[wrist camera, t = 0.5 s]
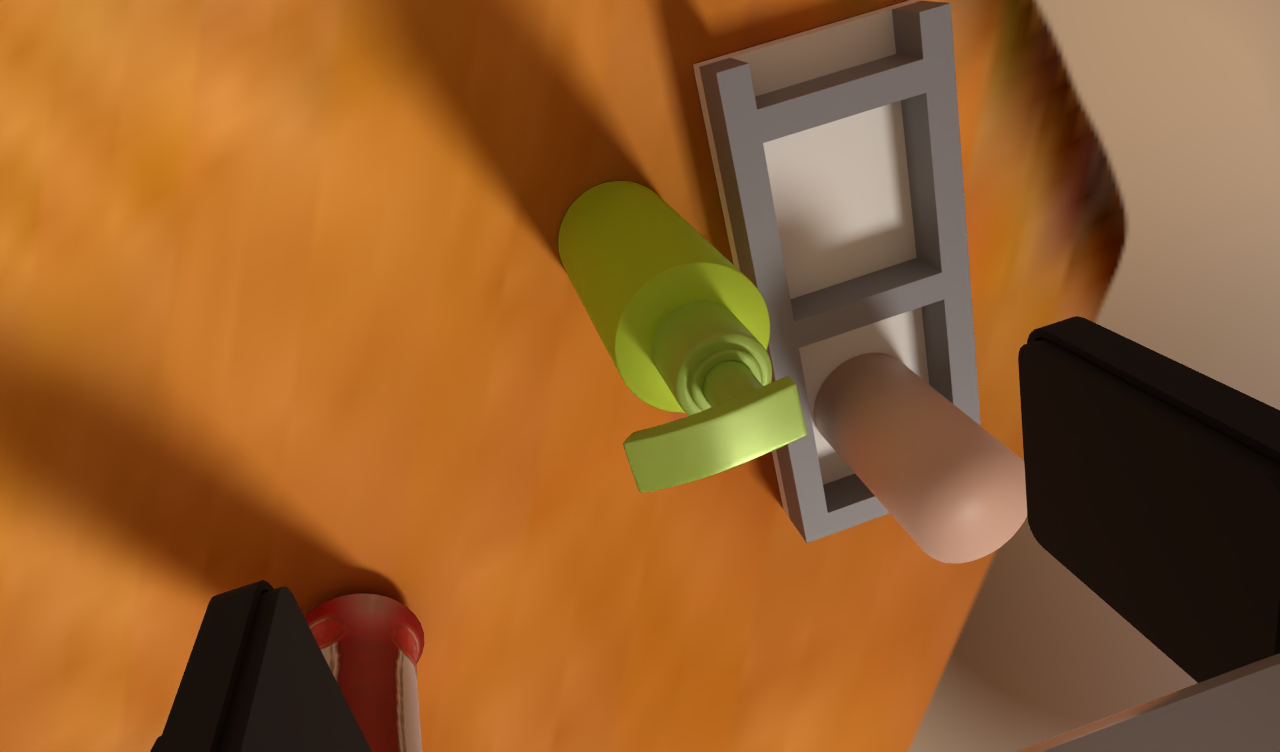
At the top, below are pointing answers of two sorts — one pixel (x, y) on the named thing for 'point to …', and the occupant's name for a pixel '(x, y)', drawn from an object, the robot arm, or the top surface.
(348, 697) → the liquor
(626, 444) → the soap dispenser
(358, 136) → the top surface
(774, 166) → the rail
